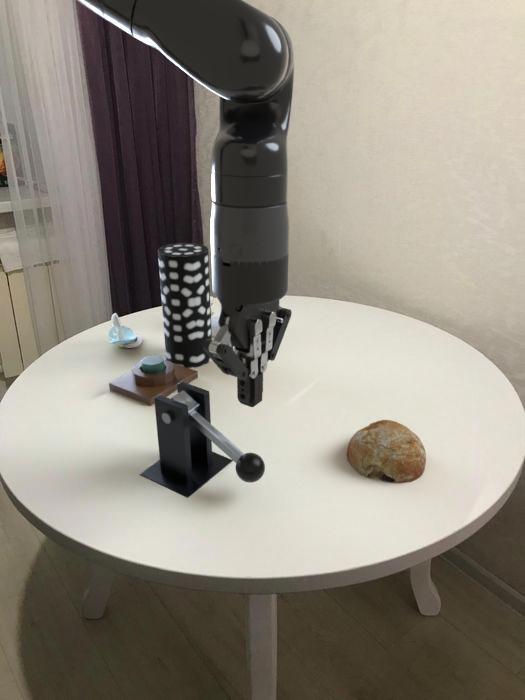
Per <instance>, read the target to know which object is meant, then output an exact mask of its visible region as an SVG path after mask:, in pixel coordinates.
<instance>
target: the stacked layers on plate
mask: <svg viewBox="0 0 525 700" xmlns="http://www.w3.org/2000/svg"><path fill="white" fill-rule="evenodd" d="M213 299H214V296H211V295H210V304H211V329H212V338H215V336H216V334H217V332H218V331H219V329H220V327H219V325H218V318H219V316H214V315H215V312H214V311H213V307H214V302H212V300H213Z"/></svg>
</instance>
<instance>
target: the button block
mask: <svg viewBox="0 0 525 700" xmlns="http://www.w3.org/2000/svg"><path fill="white" fill-rule="evenodd" d="M164 365H165V369H164V371H162V372H160V373H155V374H146V373H143V372H142V366H141V361H139V362H137V363H134V365H133V367H132V368H131V371H129V372H127V373H126V374H124V375H122V376H120V377H118V378H116V379H114V380H112V381H110V382H109V383H108V388H109V392H115V393H117V394H120V395H122V396H124V397H127V398H130V399H132V400H135V401H137V402H140V403H141V404H145V405H147V406H150V407H152V406H153V405H154V406H155V402H154V398H155V397H157V396H158V395H162V396H165V397H167V398H168V396H170V395H172V394H174V393H175V392H177V384H179V383H180V382H185V383H188V384H191V383H192V382H193V381H195V380H197V379H198V378H199V374H198V373H199V372H198V371H197V370H195V369H193V368H186V367H183V366H180V365H177V364H174V363H172V362H171V361H168V360H166V358H164Z"/></svg>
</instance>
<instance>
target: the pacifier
mask: <svg viewBox="0 0 525 700" xmlns="http://www.w3.org/2000/svg"><path fill="white" fill-rule="evenodd" d="M111 325H112V327H111V328H110V329H109V330H108V338H109V339H110V340H111V341H109V344H110V345H115V346H116V347H118V348H127V349H134V348H136V347H139V346H140V345H141V344H142V343H143V338H142V336H141V335H139V334H138V333H135V332H134V331H133V329H131V327H129V326H125V325H122V323H121V319H120V317H119V315H118V313H116V312H114V313H113V314H112V315H111ZM135 340H136V341H135ZM133 341H135V342H133ZM130 342H131V343H130ZM132 342H133V343H132Z"/></svg>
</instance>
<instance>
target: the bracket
mask: <svg viewBox="0 0 525 700" xmlns="http://www.w3.org/2000/svg"><path fill="white" fill-rule="evenodd" d="M183 390H184V391H185V392H186V393H187V394H188V395H190V396H191V397H192V398H193V399H194V400H195V401H196V402H197V403H199V404H200V405H199V407H198V409H197V412H198V413H199V414H200V415H201V416H202V417H203V418H204V419H206V420H207V421H208V422H209V423H210V424H211V425H212V419H211V417H212V416H211V398H210V396H211V395H210V391H209V390H208V389H204V388H201V387H199V386H196V385H194V384H191V383H185V382H180V383H179V384H177V391H176V392H177V394H178V393H180V392H181V391H183ZM154 402H155V404H154V411H155V422H156V432H157V433H156V434H157V442H158V443H157V444H158V455H159V456H158V457H159V460H157V461H156V462H154V463H153V464H151V465H150V466H149V467H147V468H146V469H145V470H143V471H142V472H141V473H139V476H141V477H143V478H145V479H147V480H149V481H151V482H153V483H156V484H157V485H160V486H162V487H164V488H166V489H168V490H170V491H172V492H174V493H176V494H178V495H180V496H182V497H184V498H187V499H189V498H190V497H191V496H192V495H193V494H195V493H196V492H197V491H198V490H200V489H201V488H202V487H203V486H204V485H206V484H207V483H208V482H209V481H210V480H212V479H213V478H214V477H215V476H217V475H218V474H219V473H220V472H221V471H223V470H224V469H226V467H227V466H229V465H230V464H231V463H232V462H234V461H233V460H232V459H231V458H230V457H228V456H224V455H221V454H220V453H217V452H214V451H213V442H212V441H211V440H210V439H209V438H208V437H206V436H205V435H204V434H203V433H202V432H201V431H200V430H199V429H198V428H196V427H195V426H194V425H193V424H192V423H191V422H190V421H189V418H188V405H186V404H183V403H181V402H178V401H175V400H173V399H171V398H170V397H168V396H167V397H165V396H162V395H158V396H157V397H155V398H154Z"/></svg>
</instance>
